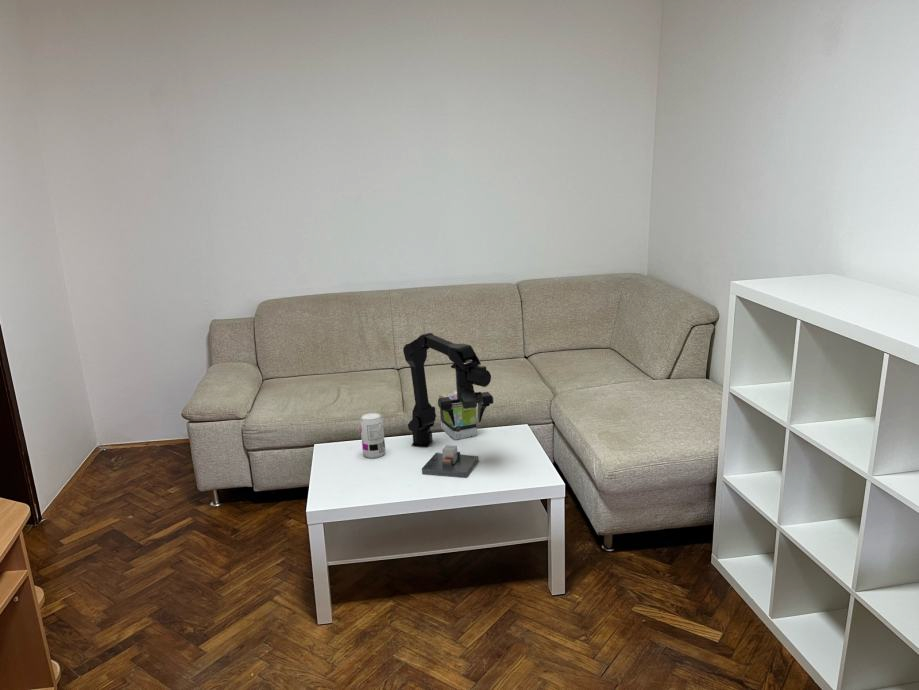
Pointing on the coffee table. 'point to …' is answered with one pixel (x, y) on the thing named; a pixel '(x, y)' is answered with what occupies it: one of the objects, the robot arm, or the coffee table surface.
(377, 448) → the supplement can
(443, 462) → the stand
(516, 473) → the coffee table surface
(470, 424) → the tea box
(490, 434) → the coffee table surface
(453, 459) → the grey metal cube
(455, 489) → the coffee table surface
